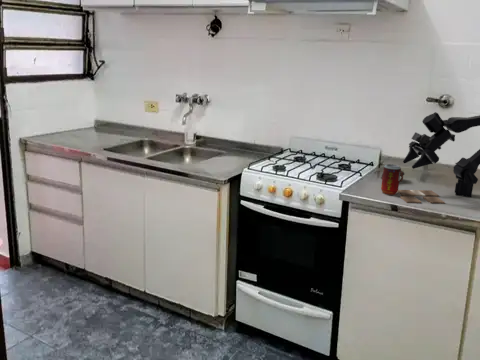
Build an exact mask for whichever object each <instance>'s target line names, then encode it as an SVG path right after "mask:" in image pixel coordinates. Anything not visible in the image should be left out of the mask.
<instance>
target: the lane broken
mask: <svg viewBox="0 0 480 360" xmlns="http://www.w3.org/2000/svg"><path fill="white" fill-rule="evenodd" d="M399 197H400V199H401V200H402V201H404V202H405V203H406V204H421V203H422V201H421V200H420V199H418V198H417V196H402V195H401V196H399ZM422 198H423V199H424V200H425V201H427V202H428V203H429V204H440V203H441V204H446V202H445V201H444V200H442V199H441V198H439V197H434V196H422ZM441 204H440V205H441Z"/></svg>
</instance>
